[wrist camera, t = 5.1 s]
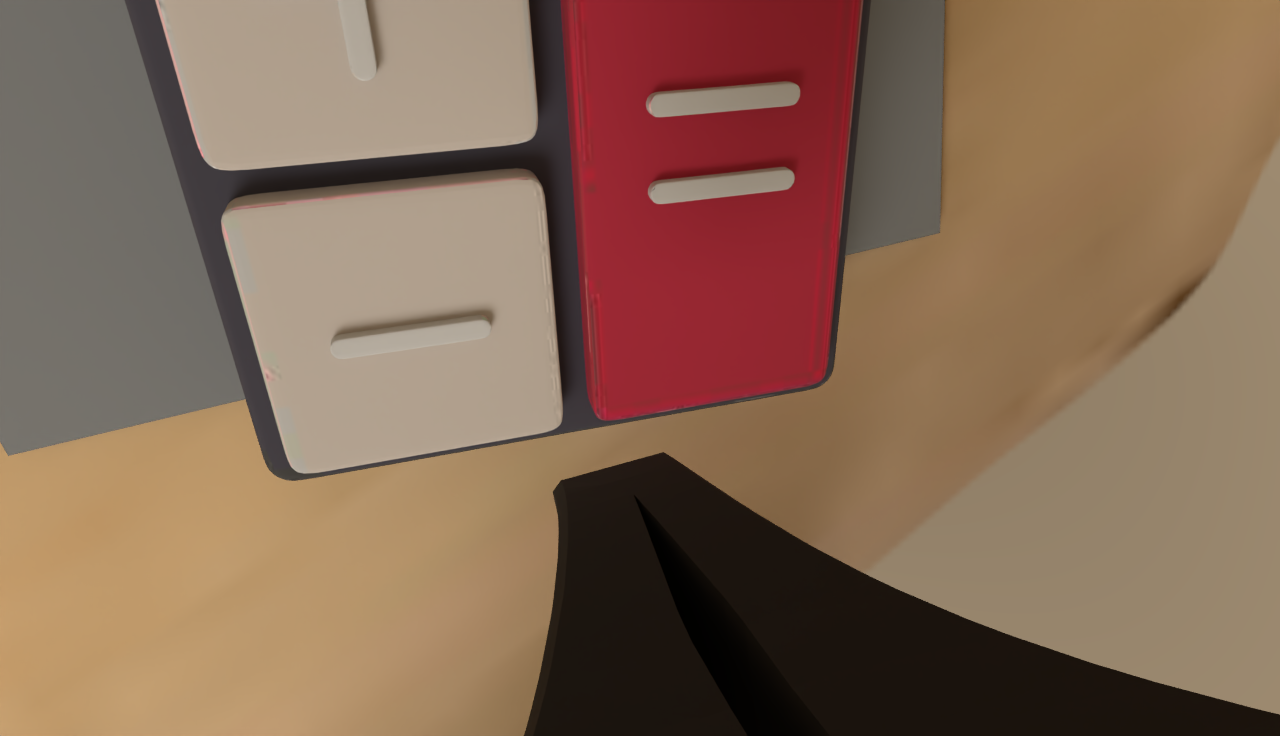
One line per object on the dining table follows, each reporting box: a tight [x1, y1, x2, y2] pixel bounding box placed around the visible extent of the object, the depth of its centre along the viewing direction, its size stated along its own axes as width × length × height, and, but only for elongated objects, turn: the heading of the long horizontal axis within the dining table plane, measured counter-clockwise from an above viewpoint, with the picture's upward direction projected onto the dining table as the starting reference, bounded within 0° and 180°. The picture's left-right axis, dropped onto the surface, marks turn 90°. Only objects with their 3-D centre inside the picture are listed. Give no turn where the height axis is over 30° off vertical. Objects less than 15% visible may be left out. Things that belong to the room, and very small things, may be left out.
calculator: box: [125, 0, 871, 481], centre depth 13 cm, size 11×4×15 cm
